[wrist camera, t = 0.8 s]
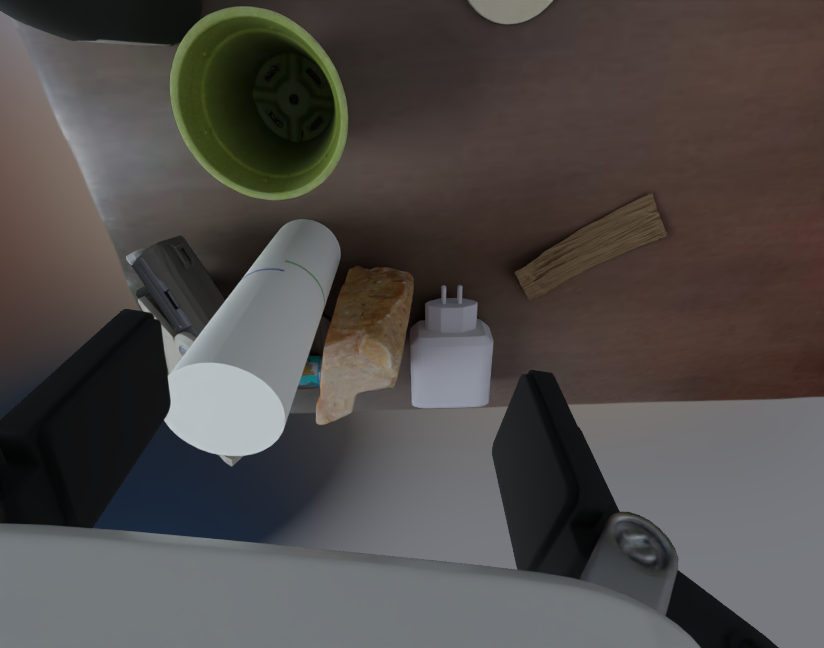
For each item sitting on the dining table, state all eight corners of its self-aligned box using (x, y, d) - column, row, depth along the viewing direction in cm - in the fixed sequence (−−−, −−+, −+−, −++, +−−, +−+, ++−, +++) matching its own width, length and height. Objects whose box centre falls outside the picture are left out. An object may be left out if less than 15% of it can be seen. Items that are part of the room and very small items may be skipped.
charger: (491, 274, 48) (483, 381, 56) (408, 277, 48) (411, 383, 56) (499, 294, 44) (489, 406, 52) (408, 296, 44) (412, 408, 52)
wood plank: (659, 194, 42) (672, 238, 44) (648, 190, 44) (662, 232, 46) (513, 270, 46) (532, 307, 48) (509, 264, 48) (528, 299, 50)
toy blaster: (213, 476, 50) (292, 472, 42) (79, 287, 45) (136, 235, 36) (249, 444, 55) (327, 434, 46) (131, 268, 49) (194, 217, 40)
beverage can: (345, 306, 50) (336, 345, 43) (348, 388, 56) (340, 433, 49) (239, 303, 50) (213, 341, 43) (254, 386, 56) (233, 431, 49)
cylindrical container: (269, 217, 45) (143, 360, 23) (339, 220, 45) (278, 364, 24) (276, 280, 48) (173, 454, 27) (341, 283, 49) (290, 457, 27)
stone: (380, 371, 54) (369, 454, 40) (312, 340, 52) (277, 415, 38) (438, 274, 49) (448, 331, 35) (365, 235, 47) (346, 279, 33)
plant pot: (218, 139, 41) (159, 163, 31) (243, -7, 35) (182, -33, 26) (339, 188, 43) (319, 224, 34) (381, 59, 38) (372, 57, 28)
